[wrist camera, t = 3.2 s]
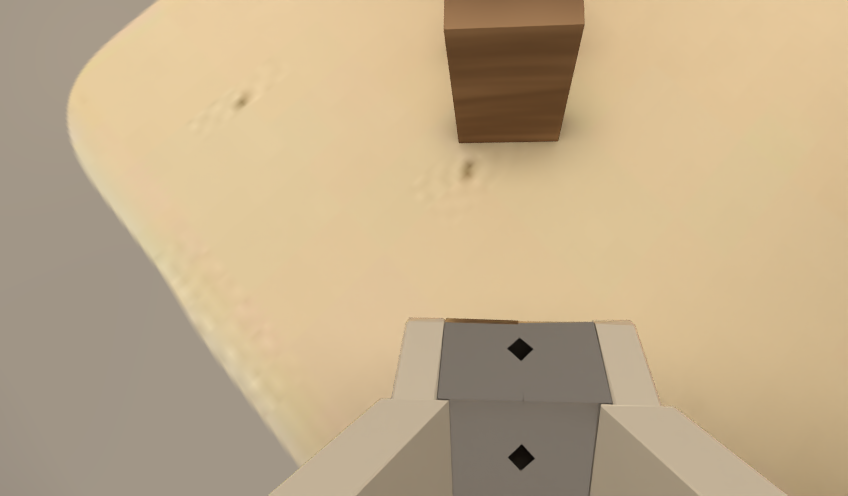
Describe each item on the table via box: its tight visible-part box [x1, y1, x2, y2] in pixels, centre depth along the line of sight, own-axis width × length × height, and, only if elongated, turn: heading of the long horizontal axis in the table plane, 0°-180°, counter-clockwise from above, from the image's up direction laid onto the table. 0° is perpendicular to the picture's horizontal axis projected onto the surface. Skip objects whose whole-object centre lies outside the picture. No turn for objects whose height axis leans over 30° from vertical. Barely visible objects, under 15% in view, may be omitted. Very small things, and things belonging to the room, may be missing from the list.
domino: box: [444, 0, 584, 143], centre depth 28 cm, size 2×5×10 cm, turn 89°
